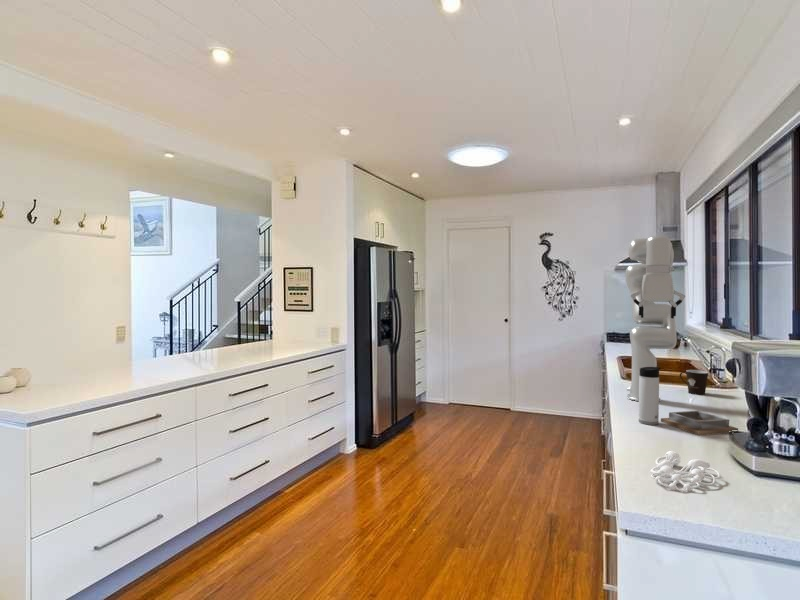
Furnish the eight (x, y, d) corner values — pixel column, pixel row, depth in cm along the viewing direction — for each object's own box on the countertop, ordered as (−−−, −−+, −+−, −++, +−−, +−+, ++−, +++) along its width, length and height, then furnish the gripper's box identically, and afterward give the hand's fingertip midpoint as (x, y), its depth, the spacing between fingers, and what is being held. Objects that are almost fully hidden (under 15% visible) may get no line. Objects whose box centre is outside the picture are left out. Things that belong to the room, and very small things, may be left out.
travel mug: (662, 425, 163) (663, 368, 163) (641, 424, 164) (642, 367, 164) (656, 420, 169) (657, 365, 169) (636, 419, 171) (637, 365, 170)
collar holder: (660, 421, 168) (660, 411, 168) (697, 418, 172) (697, 408, 172) (698, 435, 153) (699, 424, 152) (738, 431, 156) (738, 420, 156)
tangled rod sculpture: (702, 506, 106) (705, 488, 106) (636, 481, 116) (637, 465, 116) (724, 479, 119) (726, 464, 119) (662, 459, 130) (664, 445, 129)
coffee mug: (712, 395, 210) (712, 373, 209) (692, 395, 210) (693, 373, 209) (696, 389, 221) (696, 368, 221) (677, 389, 221) (678, 368, 221)
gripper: (684, 270, 169) (683, 318, 170) (630, 271, 176) (630, 316, 177) (687, 270, 162) (686, 319, 163) (631, 270, 170) (630, 317, 170)
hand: (656, 317), depth 170 cm, fingers open, 9 cm apart
